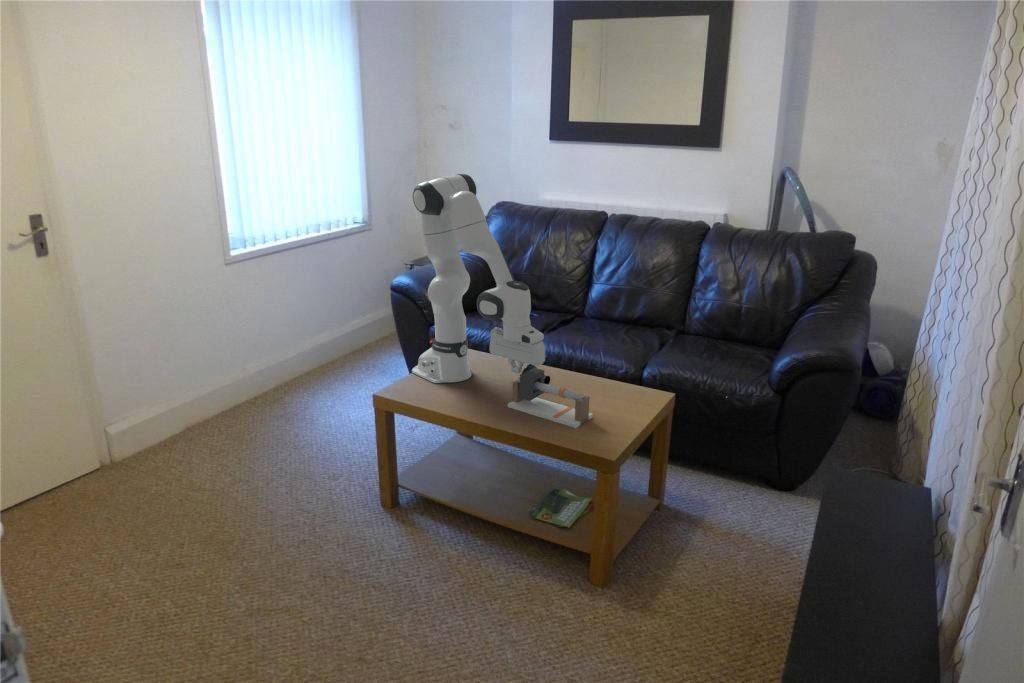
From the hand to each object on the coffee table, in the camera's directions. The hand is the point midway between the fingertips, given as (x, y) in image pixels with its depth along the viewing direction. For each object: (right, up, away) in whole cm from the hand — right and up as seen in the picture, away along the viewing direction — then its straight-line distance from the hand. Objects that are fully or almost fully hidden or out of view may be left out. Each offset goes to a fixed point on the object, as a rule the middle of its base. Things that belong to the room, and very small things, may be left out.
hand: (516, 372), depth 230 cm
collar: (+5, -8, -1) cm, 9 cm away
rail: (+11, -13, -4) cm, 17 cm away
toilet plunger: (+4, -7, +14) cm, 16 cm away
